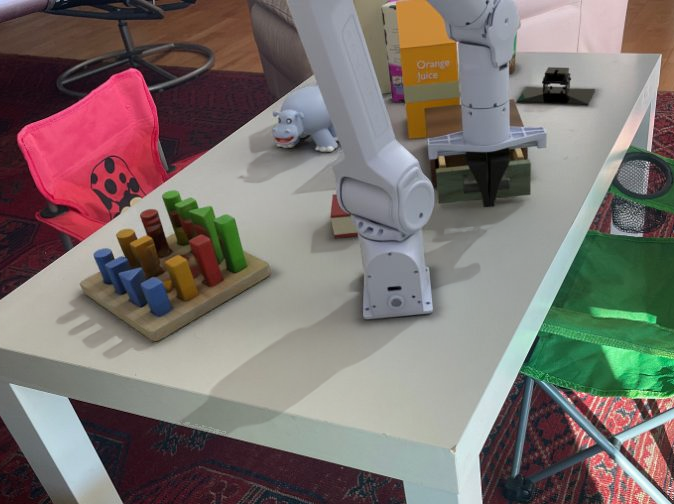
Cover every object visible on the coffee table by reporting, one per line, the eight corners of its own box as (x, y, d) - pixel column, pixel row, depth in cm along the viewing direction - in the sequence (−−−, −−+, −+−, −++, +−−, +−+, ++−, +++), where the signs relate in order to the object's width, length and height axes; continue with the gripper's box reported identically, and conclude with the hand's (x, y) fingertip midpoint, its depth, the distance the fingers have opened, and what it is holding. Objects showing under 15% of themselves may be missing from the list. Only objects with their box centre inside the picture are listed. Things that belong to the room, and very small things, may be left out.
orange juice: (407, 121, 129) (394, -5, 116) (458, 115, 129) (451, -11, 116) (408, 139, 123) (395, 8, 110) (462, 134, 123) (455, 2, 110)
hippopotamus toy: (258, 161, 122) (244, 103, 115) (304, 124, 132) (293, 69, 126) (315, 167, 118) (304, 108, 112) (358, 129, 128) (349, 72, 122)
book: (367, 235, 100) (363, 212, 98) (334, 238, 100) (330, 215, 98) (367, 213, 105) (364, 191, 103) (336, 216, 105) (332, 194, 103)
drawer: (535, 208, 100) (535, 175, 97) (440, 218, 100) (437, 185, 97) (517, 154, 113) (516, 123, 110) (433, 162, 113) (431, 132, 110)
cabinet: (527, 178, 108) (527, 136, 104) (432, 188, 109) (428, 146, 105) (514, 138, 119) (513, 98, 115) (427, 147, 120) (424, 108, 116)
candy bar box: (457, 93, 137) (451, -4, 126) (450, 103, 133) (444, 4, 123) (399, 92, 140) (389, -3, 129) (391, 102, 136) (380, 5, 126)
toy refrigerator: (403, 90, 140) (391, -34, 127) (365, 97, 139) (348, -28, 126) (395, 77, 146) (382, -43, 133) (358, 83, 145) (342, -37, 132)
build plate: (516, 103, 131) (516, 76, 128) (526, 88, 136) (526, 62, 133) (588, 105, 127) (589, 78, 124) (595, 90, 132) (596, 63, 129)
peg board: (81, 293, 95) (54, 234, 90) (195, 235, 104) (177, 178, 99) (155, 343, 86) (129, 280, 80) (273, 274, 95) (258, 213, 89)
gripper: (540, 81, 92) (539, 184, 100) (423, 94, 92) (431, 194, 101) (550, 103, 86) (548, 209, 95) (425, 116, 87) (434, 220, 95)
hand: (488, 203), depth 98 cm, fingers closed, pressing on drawer
